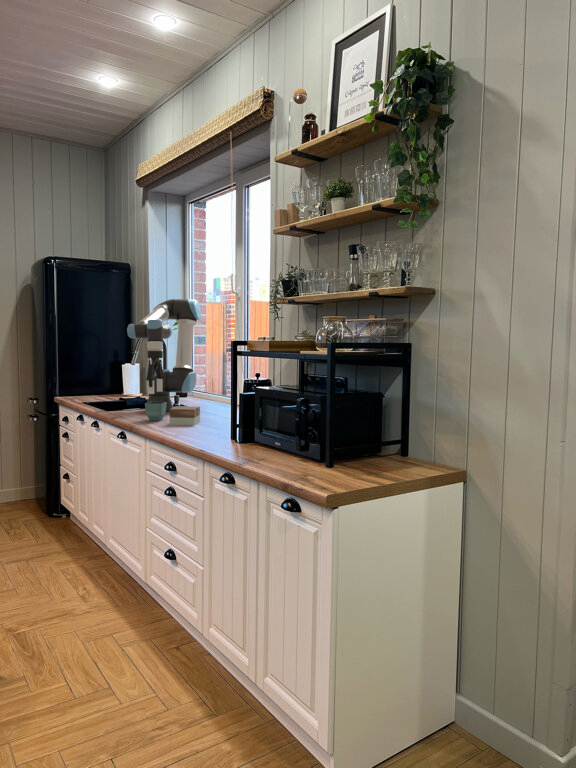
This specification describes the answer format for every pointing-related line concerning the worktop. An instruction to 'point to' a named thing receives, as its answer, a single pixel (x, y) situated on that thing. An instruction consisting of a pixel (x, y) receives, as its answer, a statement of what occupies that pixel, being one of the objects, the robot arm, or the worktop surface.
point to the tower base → (185, 421)
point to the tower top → (184, 412)
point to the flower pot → (155, 410)
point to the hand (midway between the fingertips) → (155, 392)
